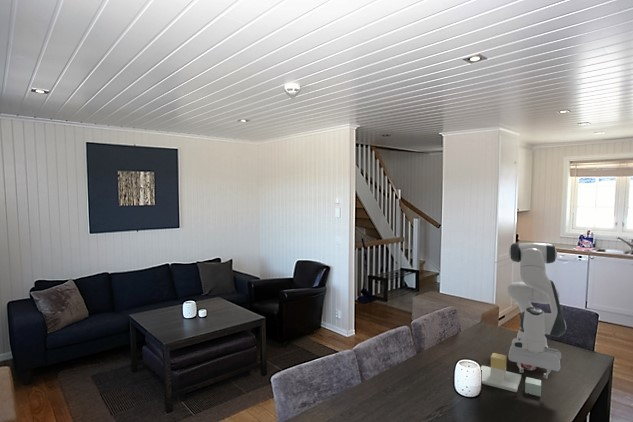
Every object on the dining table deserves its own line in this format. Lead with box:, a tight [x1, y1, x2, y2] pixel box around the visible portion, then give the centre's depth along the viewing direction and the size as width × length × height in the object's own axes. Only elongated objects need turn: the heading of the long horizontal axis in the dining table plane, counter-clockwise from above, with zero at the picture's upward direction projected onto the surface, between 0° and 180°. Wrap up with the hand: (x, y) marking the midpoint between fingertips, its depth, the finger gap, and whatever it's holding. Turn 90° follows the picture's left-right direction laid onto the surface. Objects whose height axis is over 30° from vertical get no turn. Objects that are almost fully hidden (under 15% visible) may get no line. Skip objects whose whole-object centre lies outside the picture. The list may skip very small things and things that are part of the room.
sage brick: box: [524, 376, 542, 397], centre depth 169 cm, size 6×6×5 cm
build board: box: [480, 365, 522, 393], centre depth 181 cm, size 18×18×6 cm
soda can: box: [520, 363, 537, 372], centre depth 193 cm, size 7×7×12 cm
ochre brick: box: [490, 352, 508, 370], centre depth 181 cm, size 6×6×5 cm
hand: (533, 375), depth 169 cm, fingers open, 8 cm apart
